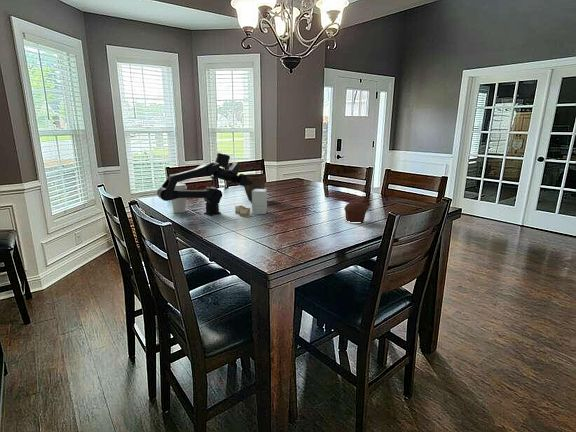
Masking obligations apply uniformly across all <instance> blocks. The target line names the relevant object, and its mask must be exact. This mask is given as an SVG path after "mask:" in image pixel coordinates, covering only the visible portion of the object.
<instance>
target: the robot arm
mask: <svg viewBox="0 0 576 432" xmlns="http://www.w3.org/2000/svg"><path fill="white" fill-rule="evenodd" d="M230 158H231V156H230V155H228V154H223V153H220V152H217V154H216V158H215V162H214V161H212V162H209V163H206V162H205V163H202V164H200V165H198V166H197V167H196V168H192V169H189V170H186V171H182V172H179V173H173V174H169V176H168V177H167V178H166V180H165V181H164V183H163V184H162V185H161V187H159V188H158V189H157V191H156V195H157V197H158V198H159V199H161V200H162V201H164V202H169V201H172V200H174V199H177V198H186V199H203V200H204V202H205V212H203V214H204V215H209V216H215V215H218V214H221V213H222V212H221V211H220V207H219V206H220V202H221V199H222V198H223V192H222V190H221V189H219V188H217V187H216V186H215V187H214V186H205V189H186V190H174V189H175V186H176V184H177V183H181V182H184V181H188V180H190V179H194V178H198V177H210V178H211V181H213V182H216V180H217V179H220V180H223V181H225V182H227V183H230V184H236V185H238V186H240V187H244V186H246V185H252V184H253V182H251V181H250V180H248V179H247V175H246V174H244V173H239V172H238V171H239V170H240V168H241V167H242V165H241V164H240V163H239V162H238V161H233V162H230ZM227 167H228V169H225V168H227Z"/></svg>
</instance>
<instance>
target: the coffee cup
mask: <svg viewBox="0 0 576 432" xmlns="http://www.w3.org/2000/svg"><path fill="white" fill-rule="evenodd" d="M174 190H188V187H187V185H186V183H181V182H177V184H176V186H175V189H174ZM171 205H172V212H173V213H176V214H177V213H179V214H183V213H185V212H186V211H187V198H177V199H174V200H171Z"/></svg>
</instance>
